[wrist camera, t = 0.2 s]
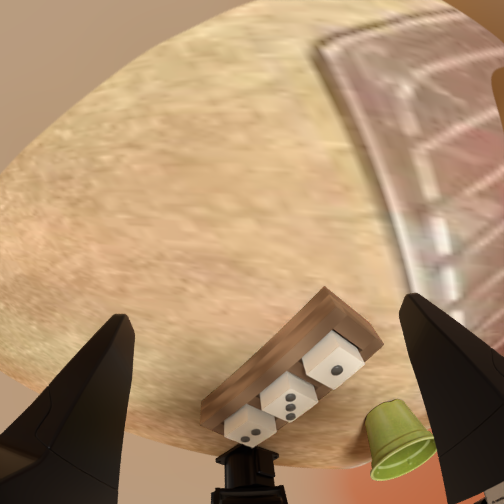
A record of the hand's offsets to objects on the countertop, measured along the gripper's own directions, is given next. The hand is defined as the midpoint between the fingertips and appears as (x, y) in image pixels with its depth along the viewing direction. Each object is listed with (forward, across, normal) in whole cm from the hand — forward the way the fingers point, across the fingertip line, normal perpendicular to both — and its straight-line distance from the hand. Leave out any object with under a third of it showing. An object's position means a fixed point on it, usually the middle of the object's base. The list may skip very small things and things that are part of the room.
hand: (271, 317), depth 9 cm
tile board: (+11, -2, +20) cm, 23 cm away
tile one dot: (+9, -6, +15) cm, 19 cm away
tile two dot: (+7, +1, +23) cm, 24 cm away
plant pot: (+9, -17, +31) cm, 36 cm away
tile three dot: (+8, -3, +19) cm, 21 cm away
